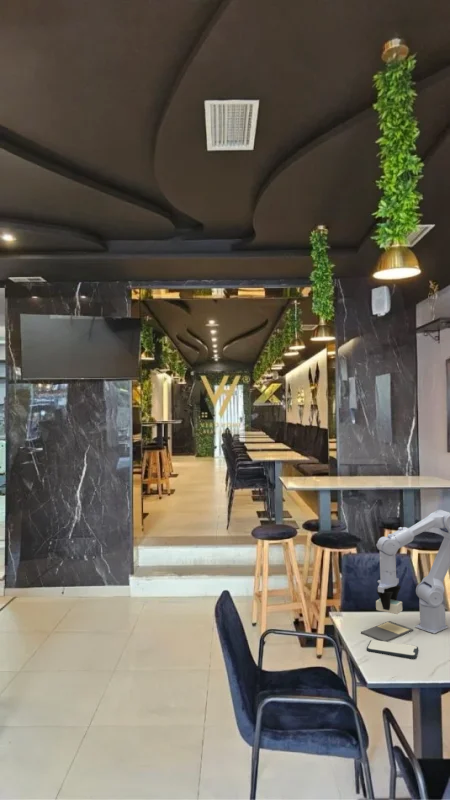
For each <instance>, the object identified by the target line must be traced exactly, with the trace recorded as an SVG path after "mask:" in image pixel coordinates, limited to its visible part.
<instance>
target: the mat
mask: <svg viewBox="0 0 450 800" xmlns="http://www.w3.org/2000/svg"><path fill="white" fill-rule="evenodd" d="M409 632H410V633H411V632H414V628H411V627H408V626H405V625H402V624H399V623H396V622H393V621H391V620H388V621H385V622H383V623H381V624H378V625H375V626H372V627H370V628H367V629H364V630H362V631H360V634H361V635H363V636H367V637H369V638H371V639H373V640H378V641H385V642H391V641H392V640H395V639H397V638H399V637H402V636H404V635H407V634H409Z"/></svg>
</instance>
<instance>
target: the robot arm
mask: <svg viewBox="0 0 450 800" xmlns="http://www.w3.org/2000/svg"><path fill="white" fill-rule="evenodd" d="M432 528H435V529H436V528H437V529H439V530H440V531H441V534H442V535H443V540H442V542H441V544H440V547H439V548H438V551H437V553H436V556H435V558H434V561H433V563H432V565H431V567H430V570H429V572H428V575H426V576H425V577H423V578H422V580H421V582H420V583H419V584H417V585H416V588H415V594H416V596H417V597H418V598H419V602H418V603H419V604H418V605H419V606H418V607H419V624H417V625H415V628H416V629H420V630H422V631H425V632H427V633H432V634H437V633H439V632H441V631H445V630H446V629H448V628H449V626H448V625H447V624H446V622H447V620H446V619H447V618H446V608H445V606H444V605H443V601H444V592H445V586H444V580H445V578H446V576H447V573H448V571H449V569H450V512H449V511H445V510H444V509H437V510H436V511H433V512H431V513H430V514H429V515H427V516H426V517H424V518H423V519H421V520H420V521H418V522H417V523H415V524H413V525H412V526H409V527H406V526H403V527H401V526H400V527H398V528H397V530H396V531H394V532H392V533H389V534H387V536H381V537H380V538H378V540H377V543H376V549H377V550H378V551H379V574H380V575H379V577H380V579H378V580H377V583H378V584H379V585H378V586H377V589H376V593H377V595H378V597H379V599H381V602H382V606H383V609H385V610H389V609H390V600H396V601H398V600H397V599H398V595H399V593H400V590H401V585H399V583H400V580H399V577H397V566H396V565H397V563H396V561H397V560H396V559H397V557H396V554H397V553H398V551H399V549H400V548H402V547H404V546H406V545H408V544H410V543H411V542H413V541H414V539H415V536H417V535H420V534H421V533H423V532H424V533H425V532H426V531H427V530H430V529H432Z"/></svg>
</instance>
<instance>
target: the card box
mask: <svg viewBox="0 0 450 800" xmlns="http://www.w3.org/2000/svg"><path fill="white" fill-rule="evenodd" d="M375 608H376V609H375V610H376V611H379V612H385V613H389V614H394V615H398V614H400V613H401V612H402V611H403V601H401V600H390V609H389V610H385V609H383V606H382V602H381V599H380V598H379V599H377V600H375Z"/></svg>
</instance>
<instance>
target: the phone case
mask: <svg viewBox="0 0 450 800" xmlns="http://www.w3.org/2000/svg"><path fill="white" fill-rule="evenodd" d="M366 651H367V652H369V653H374V654H380V655H385V656H391V657H396V658H403V659H409V660H416V659H417V657H418V653H419V646H417V645H413V644H405V643H398V642H391V641H388V642H385V641H379V640H376V639H370V641H369V642H368V644H367V646H366Z"/></svg>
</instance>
